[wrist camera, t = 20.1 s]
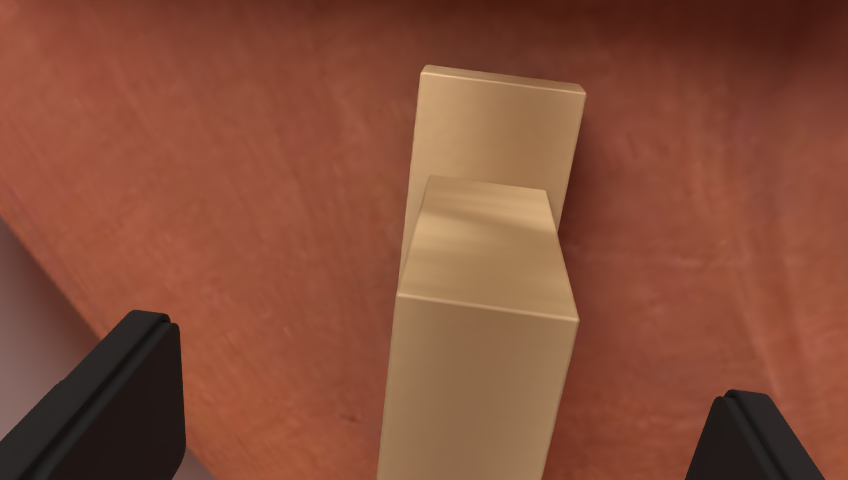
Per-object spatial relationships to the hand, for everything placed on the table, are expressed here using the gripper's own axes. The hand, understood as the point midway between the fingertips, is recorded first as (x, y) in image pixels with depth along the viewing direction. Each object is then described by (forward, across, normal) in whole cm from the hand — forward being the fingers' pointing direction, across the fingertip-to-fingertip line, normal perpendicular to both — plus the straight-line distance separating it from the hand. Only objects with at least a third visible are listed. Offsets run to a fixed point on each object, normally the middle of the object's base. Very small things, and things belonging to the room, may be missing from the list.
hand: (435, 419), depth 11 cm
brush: (+9, -1, 0) cm, 9 cm away
